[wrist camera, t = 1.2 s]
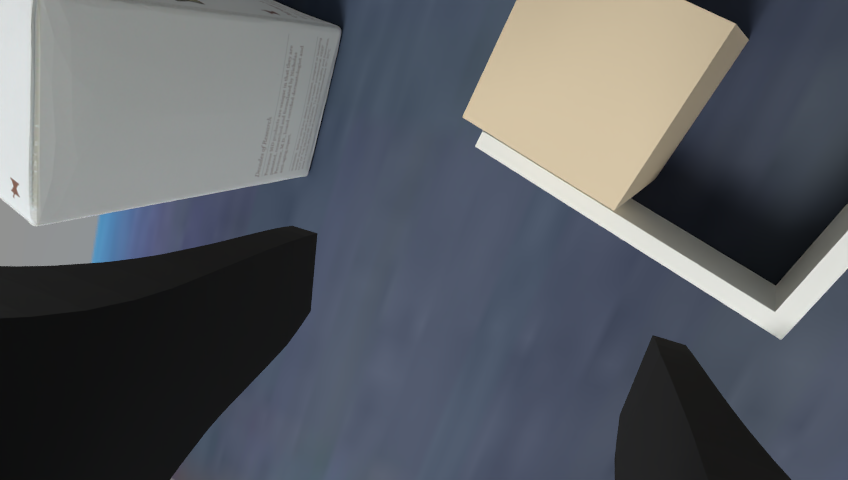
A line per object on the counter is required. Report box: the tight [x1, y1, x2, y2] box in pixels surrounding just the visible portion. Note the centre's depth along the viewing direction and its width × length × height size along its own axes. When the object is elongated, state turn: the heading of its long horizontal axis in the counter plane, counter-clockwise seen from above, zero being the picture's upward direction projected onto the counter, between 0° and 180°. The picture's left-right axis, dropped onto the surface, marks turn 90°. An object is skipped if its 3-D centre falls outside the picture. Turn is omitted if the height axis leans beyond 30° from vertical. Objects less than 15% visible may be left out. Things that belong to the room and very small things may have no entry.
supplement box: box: [0, 0, 341, 226], centre depth 23 cm, size 7×7×13 cm
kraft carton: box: [463, 0, 749, 210], centre depth 17 cm, size 5×5×6 cm
